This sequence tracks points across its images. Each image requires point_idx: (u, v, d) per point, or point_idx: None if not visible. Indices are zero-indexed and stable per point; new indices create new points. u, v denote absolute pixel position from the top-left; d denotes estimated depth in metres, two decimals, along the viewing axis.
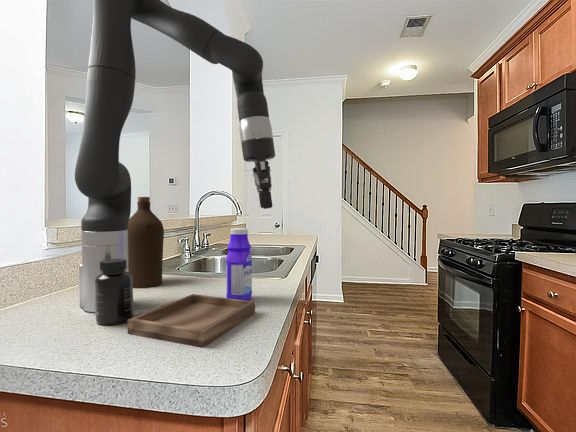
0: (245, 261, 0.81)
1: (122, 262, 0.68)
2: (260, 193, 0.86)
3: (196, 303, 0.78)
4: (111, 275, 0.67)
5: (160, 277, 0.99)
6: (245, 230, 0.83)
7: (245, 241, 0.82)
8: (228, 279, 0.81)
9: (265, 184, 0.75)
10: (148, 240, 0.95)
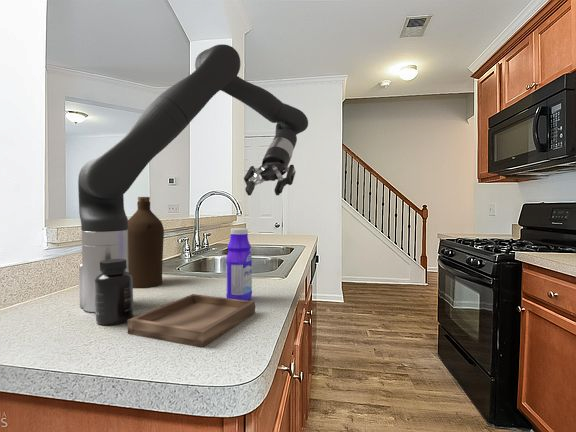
0: (245, 261, 0.81)
1: (122, 262, 0.68)
2: (252, 182, 0.98)
3: (196, 303, 0.78)
4: (111, 275, 0.67)
5: (160, 277, 0.99)
6: (245, 230, 0.83)
7: (245, 241, 0.82)
8: (228, 279, 0.81)
9: (291, 179, 0.96)
10: (148, 240, 0.95)
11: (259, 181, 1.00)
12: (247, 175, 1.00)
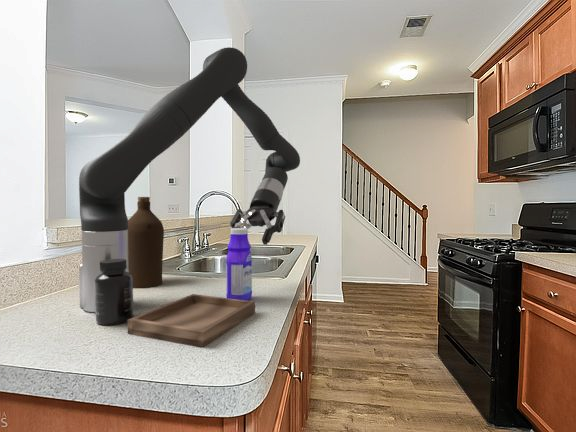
0: (245, 261, 0.81)
1: (122, 262, 0.68)
2: None
3: (196, 303, 0.78)
4: (111, 275, 0.67)
5: (160, 277, 0.99)
6: (245, 230, 0.83)
7: (245, 241, 0.82)
8: (228, 279, 0.81)
9: (280, 227, 0.90)
10: (148, 240, 0.95)
11: (246, 226, 0.94)
12: (234, 220, 0.94)
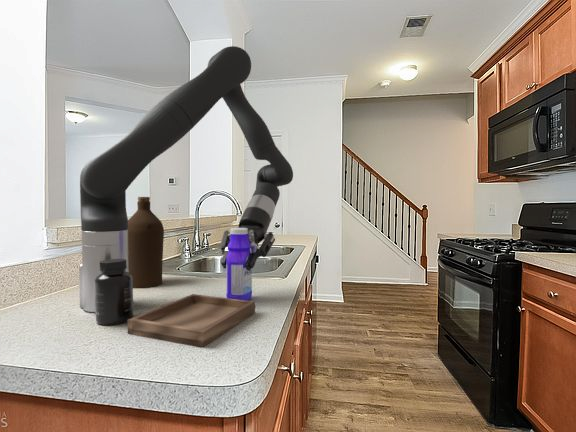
0: (245, 261, 0.81)
1: (122, 262, 0.68)
2: None
3: (196, 303, 0.78)
4: (111, 275, 0.67)
5: (160, 277, 0.99)
6: (245, 230, 0.83)
7: (245, 241, 0.82)
8: (228, 279, 0.81)
9: (264, 251, 0.84)
10: (148, 240, 0.95)
11: None
12: (223, 242, 0.87)
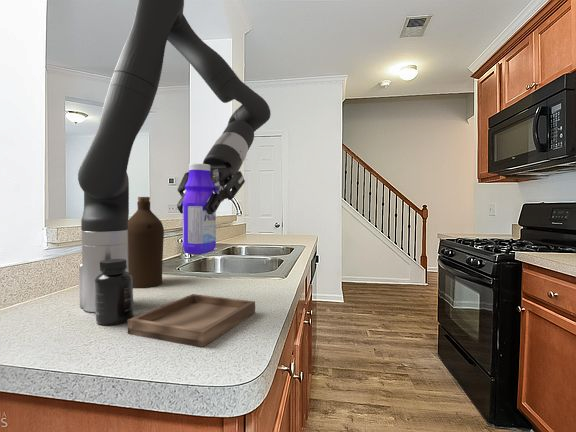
0: (205, 202, 0.66)
1: (122, 262, 0.68)
2: None
3: (196, 303, 0.78)
4: (111, 275, 0.67)
5: (160, 277, 0.99)
6: (206, 165, 0.67)
7: (206, 179, 0.67)
8: (184, 224, 0.66)
9: (230, 193, 0.68)
10: (148, 240, 0.95)
11: None
12: (182, 185, 0.72)
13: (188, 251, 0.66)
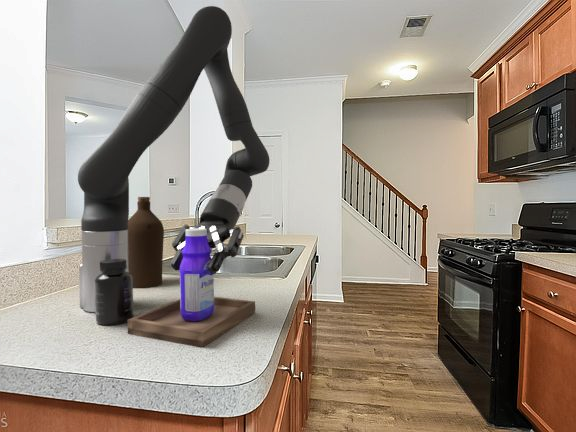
0: (202, 270, 0.65)
1: (122, 262, 0.68)
2: None
3: None
4: (111, 275, 0.67)
5: (160, 277, 0.99)
6: (203, 231, 0.67)
7: (203, 245, 0.67)
8: (181, 292, 0.66)
9: (234, 250, 0.68)
10: (148, 240, 0.95)
11: None
12: (177, 239, 0.72)
13: (186, 318, 0.66)
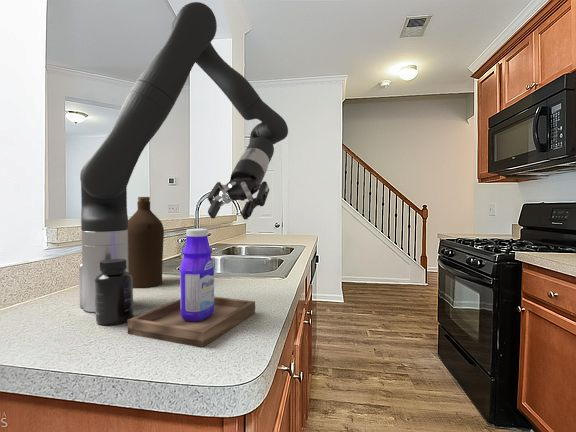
0: (202, 270, 0.65)
1: (122, 262, 0.68)
2: (217, 202, 0.82)
3: None
4: (111, 275, 0.67)
5: (160, 277, 0.99)
6: (204, 231, 0.67)
7: (204, 245, 0.67)
8: (182, 292, 0.66)
9: (262, 200, 0.79)
10: (148, 240, 0.95)
11: (226, 201, 0.84)
12: (211, 193, 0.84)
13: (186, 318, 0.66)
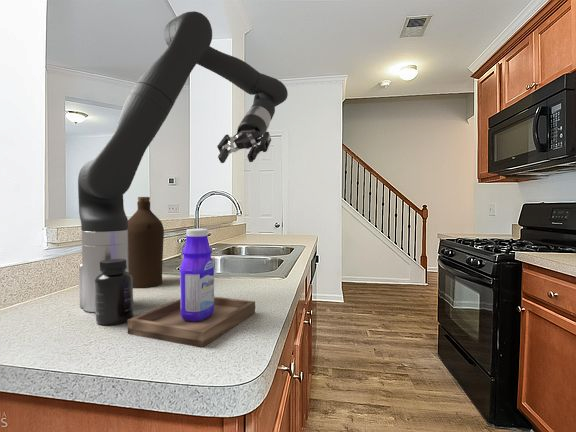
0: (202, 270, 0.65)
1: (122, 262, 0.68)
2: (226, 150, 0.94)
3: None
4: (111, 275, 0.67)
5: (160, 277, 0.99)
6: (204, 231, 0.67)
7: (204, 245, 0.67)
8: (182, 292, 0.66)
9: (265, 146, 0.92)
10: (148, 240, 0.95)
11: (233, 149, 0.96)
12: (221, 143, 0.96)
13: (186, 318, 0.66)
